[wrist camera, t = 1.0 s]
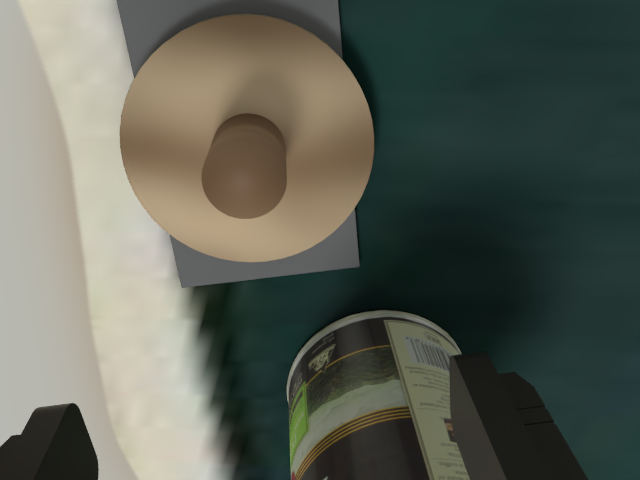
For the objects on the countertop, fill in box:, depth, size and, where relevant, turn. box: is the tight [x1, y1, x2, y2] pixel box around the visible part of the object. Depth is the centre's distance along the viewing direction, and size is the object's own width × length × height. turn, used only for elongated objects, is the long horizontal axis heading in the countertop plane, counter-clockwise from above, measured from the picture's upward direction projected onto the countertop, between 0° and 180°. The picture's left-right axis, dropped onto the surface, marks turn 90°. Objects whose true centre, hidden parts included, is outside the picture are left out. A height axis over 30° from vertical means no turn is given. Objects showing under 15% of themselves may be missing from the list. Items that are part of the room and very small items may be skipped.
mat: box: [117, 0, 360, 288], centre depth 28 cm, size 14×9×1 cm, turn 6°
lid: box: [120, 14, 374, 262], centre depth 25 cm, size 11×11×5 cm
